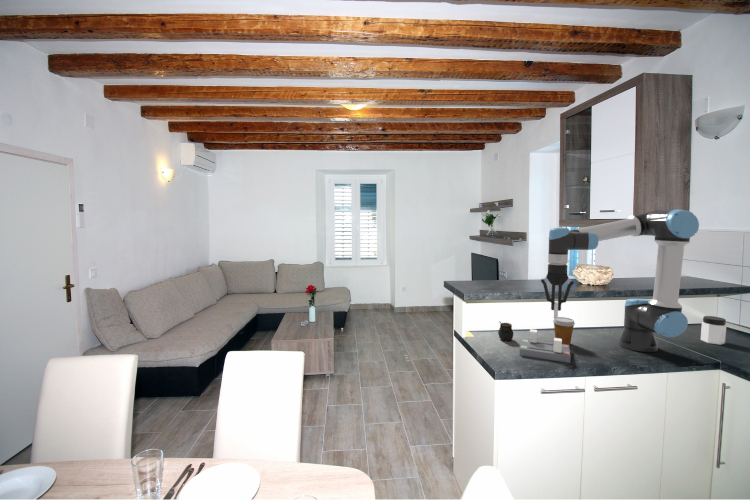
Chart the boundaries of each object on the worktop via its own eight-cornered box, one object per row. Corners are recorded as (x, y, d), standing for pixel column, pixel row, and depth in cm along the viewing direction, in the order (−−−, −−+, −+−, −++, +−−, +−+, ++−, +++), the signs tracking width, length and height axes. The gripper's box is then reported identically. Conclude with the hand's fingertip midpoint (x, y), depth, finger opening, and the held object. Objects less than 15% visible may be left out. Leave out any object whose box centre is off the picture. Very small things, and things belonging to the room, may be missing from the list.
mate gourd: (516, 340, 182) (517, 321, 181) (505, 343, 179) (505, 323, 178) (506, 336, 188) (506, 317, 187) (494, 338, 185) (495, 319, 184)
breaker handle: (536, 340, 172) (537, 329, 172) (536, 342, 169) (536, 332, 168) (529, 339, 173) (530, 329, 173) (529, 341, 170) (529, 331, 169)
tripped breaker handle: (561, 349, 160) (561, 338, 159) (561, 352, 156) (561, 341, 156) (553, 348, 161) (553, 337, 161) (553, 351, 157) (554, 340, 157)
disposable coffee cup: (576, 347, 172) (577, 322, 171) (555, 346, 174) (556, 321, 173) (570, 340, 182) (571, 317, 180) (549, 339, 183) (550, 316, 182)
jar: (706, 337, 185) (708, 314, 184) (727, 342, 178) (729, 319, 177) (697, 340, 181) (699, 317, 180) (718, 345, 174) (720, 321, 173)
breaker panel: (568, 351, 168) (568, 344, 167) (570, 362, 154) (570, 355, 154) (521, 344, 176) (522, 338, 176) (519, 355, 163) (519, 348, 162)
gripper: (540, 264, 155) (538, 318, 157) (575, 265, 150) (573, 321, 152) (541, 262, 162) (539, 313, 164) (574, 263, 156) (572, 317, 158)
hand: (555, 317), depth 158 cm, fingers closed
